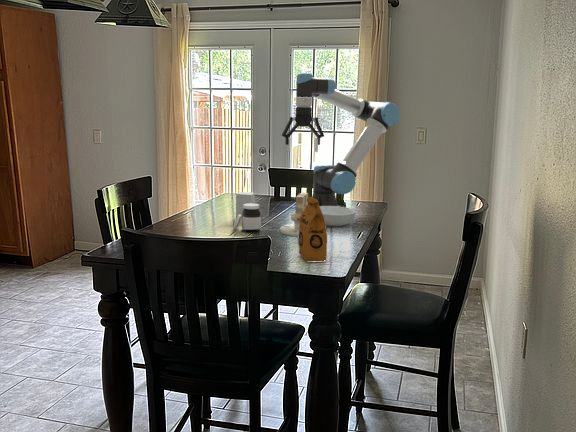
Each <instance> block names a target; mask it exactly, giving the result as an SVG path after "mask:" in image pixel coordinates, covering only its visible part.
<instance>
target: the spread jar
mask: <svg viewBox="0 0 576 432" xmlns="http://www.w3.org/2000/svg"><path fill="white" fill-rule="evenodd" d="M243 208H244V209H243V211H242V215H238V216H237V218H236V217H235V220H234V223H233V227H232V229H233V230H234V231H237V230H238V229H239V226H240V224H241V230H242V232H243V233H247V234H248V233H249V234H255V233H259V232H261V225H262V223H261V221H262V215H261V214H262V213H261V210H260V204H258V203H255V202H254V203H248V204H244V205H243ZM241 219H242V221H241Z"/></svg>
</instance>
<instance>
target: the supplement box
mask: <svg viewBox="0 0 576 432" xmlns="http://www.w3.org/2000/svg"><path fill="white" fill-rule="evenodd" d="M255 195H256V193H255V192H252V191H251V192H249V191H240V192H238V193H236V194H235V219H236V218H237V216H238V215H242V211H243V209H244V208H243V205H244V204H248V203H254V204H255ZM241 222H242V219H241Z"/></svg>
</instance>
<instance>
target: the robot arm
mask: <svg viewBox="0 0 576 432" xmlns="http://www.w3.org/2000/svg"><path fill="white" fill-rule="evenodd" d="M295 81H296V86H295V87H296V88H295V89H296V93H295V97H296V98H295V117H293V116H289V117H288V121H287V124H286V125H285V128H284V129H283V131H282V134H281V137H284V138H285V145H286V147H287V152H288V153H291V135H293V133H294V132H295V131H296V129H297V128H298V127H301V128H302V127H305V128H307V127H308V128H309V129H310V130H311V131H312V133H313V135H315V138H314V152H315V153H318V152H319V145H321V138H324V137H325V134H324V132H323V130H322V128H321V127H322V126H321V124H320V123H319V118H318V117H317V116H316V117H315V116H314V117H313V116H312V115H313V114H312V113H313V111H312V109H313V108H312V105H313V98H316V99H318V100H321V101H323V102H326V103H328V104H330V105H333V106H334V107H337V108H339V109H342V110H344V111H346V112H348V113H351V114H352V116H353V117H356V118H357V119H360V120H361V121H364V122H365V123H367V124H366V126H365V127H364V129H363V130H362V132H360V135H359V136H358V138H357V139H356V141H355V142H354V144H353V145H352V146H351V148H350V149H349V151H348V152H347V154H346V155H345V157H344V158H343V160H342V161H339V162H337V163H336V165H335V164H328V165H327V164H324V165H315V166H314V167H313V176H312V177H313V179H312V180H313V183H312V184H313V185H312V195H311V197H312V198H314V199H316V200H317V201H318V203H319V206H339V204H338V201H337V196H336V194H337V195H347V194H349V193H351V192H352V191H353V190H354V189H355V187H356V185H357V184H356V181H357V179H356V177H358V173H357V171H358V169H359V168H360V166H362V163H363V162H364V160H365V159H366V157H367V156H368V155H369V153H370V152H371V150H372V149H373V147H374V146H375V144H376V142H377V141H378V139H380V137H381V135H382V134H384V133H387V132H388V130H389V128H390V127H393V126H394V127H395V126H396V125H397V124H398V123H399V120H400V118H401V115H400V109H399V107H398V105H397V104H395V103H393V102H390V101H385V102H384V101H370V100H369V101H368V100H365V99H362V98H359V99H358V98H356V97H354V96H351V95H349V94H346V93H344V92H342V91H340V90H339V89H338V90H337V89H336V82H335V80H334V78H330V77H327V78H326V77H314V74H313V73H310V72H299V73H297V74H296V80H295ZM312 121H313V122H314V125H315V126H316V128H317V130H316V129H315V128H314V126H313V124H312ZM293 122H295V124H294V125H293V126H292V127H291V125H292V124H293ZM290 127H291V128H290ZM289 129H290V130H289ZM317 131H318V132H317Z"/></svg>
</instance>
